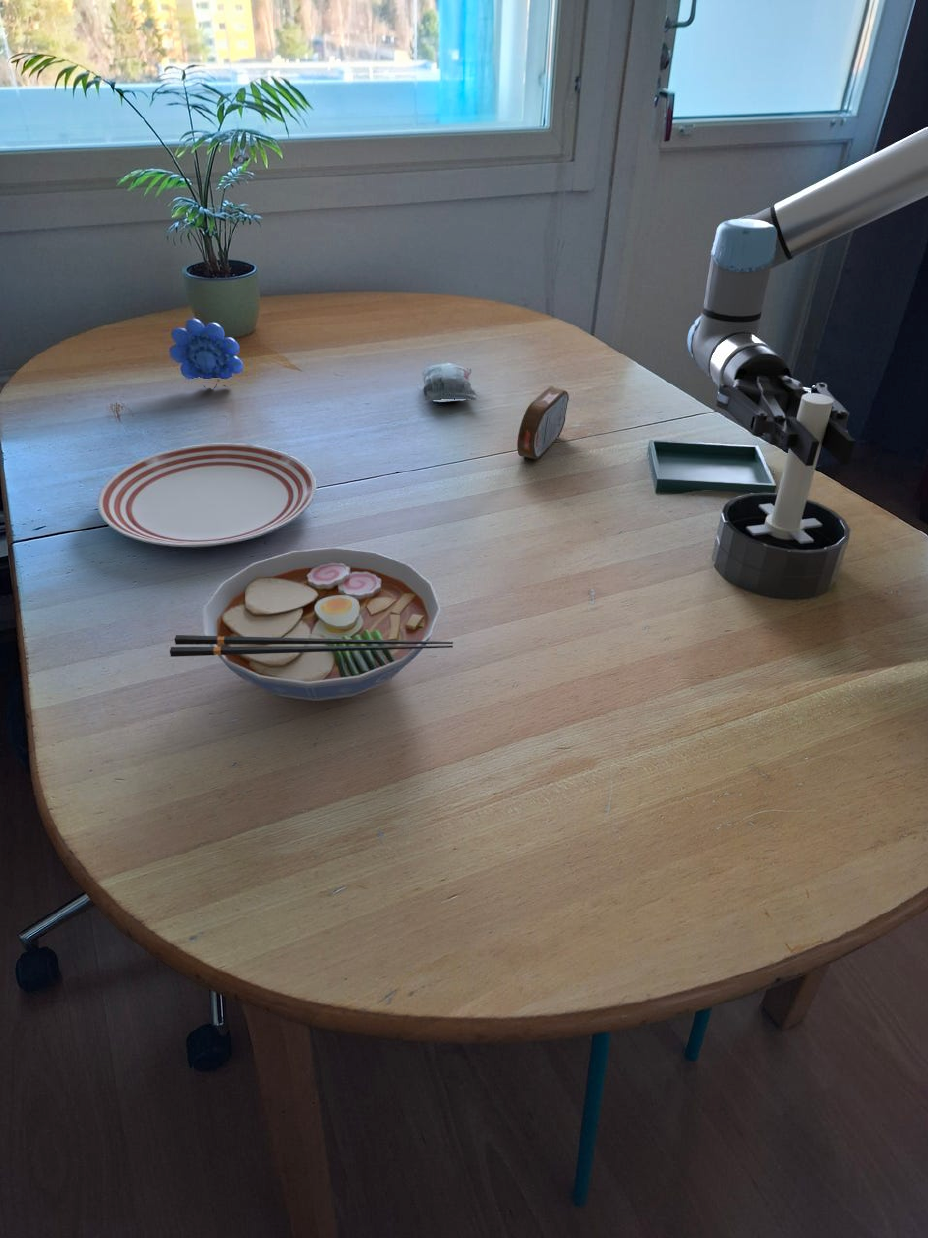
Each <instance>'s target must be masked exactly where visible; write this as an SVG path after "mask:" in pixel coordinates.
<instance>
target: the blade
mask: <svg viewBox="0 0 928 1238" xmlns="http://www.w3.org/2000/svg"><path fill="white" fill-rule="evenodd" d="M832 405H833V399H832V398H831V397H829V396H826V395H823V394H817V393H808V394H804V395H803V396H802V398H801V402H800V406H799V410H798V414H797V418H796V419H797V420H798V421H799V422H800V423H801V424H802V425H803V426H804V427H805V428H806V429H807V430H808V431H809V432H810V433H811V434H812V435H813V436H814V437H815V438H816V439H817V440H818V441H819V445H818V449H817V452H816V456H815V460H814V464H813V466H805V464H804V463H803V462H802V461H801V460H800V459H799V458H798V457H797V456H796V455H795V454H794V453H793V452H792V451H791V449H790V448H789V447H788V450H787V453H786V454H787V455H786V458H785V463H784V466H783V471H782V475H781V480H780V483H779V486H778V491H777V493H778V495H777V499H776V503H775V507H774V506H773V505H772V504H771V503H770V504H762V505H759V508H760V509H762V510H763V511H764V512H765V513H766V514H767V515H768V516H767V517H766V520H765V524H764V525H757V526H749V527H746V529H747V530H748V531H749V532H750V533H751V534H752V535H761V534H770V535H771V536H774V537H776V538H780V539H786V540H793V539H796V540H797V541H798V542H799V543H800V544H803V543H811V542H813V541H814V540H813V539H812V538H811V537H810V536H809V535H807V534H806V533H805V532H804V529H807V528H814V527H822V524H821V523H820V522H819V521H817V520H816V519H815V518H811V519H804V520H802V515H803V512H804V508H805V504H806V501H807V499H808V497H809V493H810V489H811V486H812V483H813V478H814V475H815V472H816V467H817V464H818V460H819V455H820V452H821V448H822V442H823V438H824V434H825V431H826V427H827V423H828V420H829V416H830V412H831V409H832Z"/></svg>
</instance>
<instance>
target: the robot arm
mask: <svg viewBox="0 0 928 1238" xmlns="http://www.w3.org/2000/svg"><path fill="white" fill-rule="evenodd" d="M927 196H928V126H927V127H924V128H923V129H921V130H918V131H917V132H914V133H913V134H911V135H909V136H907V137H905V138H903V139H901V140H899V141H897V142H895V143H893V144H891V145H889V146H887V147H885V148H883V149H880V150H879V151H877V152H876V153H873V154H871V155H870V156H868V157H865V158H864V159H861V160H859V161H858V162H856V163H854V164H851V165H849V166H848V167H845V168H844V169H842V170H840V171H838V172H835V173H834V174H831V175H830V176H827V177H826V178H824V179H822V180H819V181H818V182H816V183H813V184H812V185H810V186H808V187H806V188H804V189H802V190H800V191H798V192H797V193H794V194H793V195H791V196H788V197H787V198H785V199H783V200H781V201H779V202H776V203H775V204H774V205H772V206H769V207H767V208H765V209H762V210H761V211H759V212H757V213H755V214H749V215H744V216H741V217H739V218H732V219H729V220H725V221H722V222H721V223H720V224H719V225H718V227H717V228H716V232H715V236H714V242H713V244H712V247H711V249H710V250H711V251H710V255H711V256H710V263H709V270H708V275H707V282H706V288H705V296H704V303H703V305H702V310H701V315H700V316H699V317H697V318H696V319H695V321H694V322H693V323H692V325H691V326H690V329H689V331H688V334H687V343H686V344H687V349H688V352H689V354H690V355H691V357H692V359H693V360H694V361H693V362H695V365H696V366H697V367H698V368H699V369H700V370H702V371H703V372H704V373H705V374H706V375H707V376H708V377H709V378H710V379H711V380H712V382H713V383H715V385H716V386H717V387H718V391H717V396H716V401H715V406H716V407H717V408H719V409H721V410H724V411H726V412H727V413H728V414H729V415H730V416H731V417H732V418H733V419H735V420H736V421H737V422H738V423H739V424H740V425H741V426H742V427H743V428H744V429H745V430H747V432H748V433H750V434H751V435H752V436H754V437H756V438H758V437H759V438H760V437H763V436H764V434H768V436H769V438H768V441H767V443H768V445H771V446H779V445H780V444H781V445H782V446H784V447H786V448H788V449H789V448H790V449H791V451H792V452H793V453H794V454H795V455H796V456H797V457H798V458H799V459H800V460H801V461H802V462H803V463H804V464H805V466H813V464H814V460H815V456H816V452H817V449H818V445H819V441H818V440H817V439H816V438H815V437H814V436H813V435H812V434H811V433H810V432H809V431H808V430H807V429H806V428H805V427H804V426H803V425H802V424H801V423H800V422H799V421H798V420H797V419H796V418H797V414H798V410H799V406H800V402H801V398H802V396H803V395H804V394H808V393H817V394H823V395H826V396H829V397H831V398H832V399H833V405H832V409H831V412H830V416H829V420H828V423H827V427H826V431H825V434H824V438H823V442H822V445H821V447H823V448H824V450H826V451H827V452H828V453H829V454H830V455H831V456H832V457H833V458H834V459H835V460H836V461H837V462H838V464H840V465H842V466H849V465H850V462H851V459H852V456H853V452H854V448H855V445H856V439H854V437H853V436H851V435H850V434H849V431H848V430H847V429H846V427H847V424H848V423H847V422H848V419H849V417H850V412H849V411H848V409H846V408H845V406H843V405H842V404H841V403H840V402H839V401H838V400H837V398H835V396H834V395H832V393H831V392H830V391H829V390H828V384H827V383H825V382H818V383H816V385H812V386H811V387H804V383H802V382H801V381H800V380H797V379H794V378H793V376H792V373H791V370H790V367H789V365H788V363H787V362H786V361H785V359H783V358H782V357H781V356H780V355H779V354H778V353H777V352H775V350H773V348H771V346H769V345H768V344H767V343H766V342H764V341H763V340H762V339H761V338H759V337H758V336H757V335H758V330H759V327H760V321H761V318H762V312H763V311H762V310H763V306H764V301H765V297H766V293H767V289H768V284H769V281H770V274H771V270H772V269H774V268H777V267H779V266H780V265H782V264H784V263H786V262H789V261H791V260H793V259H794V258H797V257H798V256H801V255H803V254H805V253H807V252H809V251H811V250H813V249H816V248H818V247H821V246H822V245H824V244H826V243H829V242H830V241H833V240H835V239H838V238H839V237H842V236H844V235H846V234H848V233H850V232H852V231H854V230H857V229H858V228H861V227H863V226H865V225H868V224H869V223H871V222H873V221H874V222H875V221H876V220H878V219H880V218H882V217H884V216H887V215H889V214H891V213H893V212H895V211H898V210H899V209H902V208H904V207H906V206H908V205H910V204H912V203H914V202H917V201H919V200H921V199H923V198H925V197H927ZM786 418H787V419H786Z"/></svg>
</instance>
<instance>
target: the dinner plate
mask: <svg viewBox="0 0 928 1238" xmlns="http://www.w3.org/2000/svg"><path fill="white" fill-rule="evenodd" d="M316 480H317V479H316V477H315V474H314V473H313V472H312V470H311V468H309V466H308V465H307V464H305V463H304V462H303V461H301V460H300V459H298V458H296V457H295V456H292V455H290V454H289V453H286V452H284V451H280V450H278V449H274V448H270V447H267V446H261V445H255V444H249V443H239V442H237V443H236V442H216V443H204V444H203V443H202V444H195V445H188V446H182V447H177V448H173V449H168V450H165V451H161V452H158V453H155V454H151V455H149V456H145V457H144V458H142V459H139V460H137V461H135V462H133V463H131V464H129V465H127V466H125V467H123V468H122V469H121V470H119V471H117V472H116V473H115V474H114V475H113V476H111V477H110V478H109V479H108V480H107V482H106V483H105V484H104V485H103V486H102V487H101V489H100V492H99V494H98V496H97V509H98V512H99V514H100V516H101V518H102V519H103V521H104V522H105V523H106V524H107V526H109V527H110V528H111V529H113V530H114V531H116V532H117V533H119V534H121V535H123V536H125V537H127V538H130V539H133V540H136V541H140V542H143V543H147V544H153V545H158V546H163V547H164V546H165V547H173V548H175V547H178V548H200V547H213V546H215V547H216V546H221V545H230V544H235V543H239V542H245V541H247V540H252V539H256V538H258V537H261V536H264V535H267V534H270V533H272V532H275V531H277V530H280V529H281V528H283V527H285V526H287V525H289V524H290V523H292V522H293V521H295V520H296V519H297V518H299V517H300V516H301V515H302V514H304V513H305V511H307V509H308V508H309V507H310V506H311V504H312V503H313V501H314V499H315V497H316V494H317V487H318V486H317V481H316Z"/></svg>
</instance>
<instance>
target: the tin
mask: <svg viewBox="0 0 928 1238" xmlns="http://www.w3.org/2000/svg"><path fill="white" fill-rule="evenodd" d="M569 400H570V396H569V392H568V391H567V390H565V389H562V388H559V387H555V386H553V385H549V386H548V387H547V388H546V389H545V390H543V391H542V392H541V393H540V394H539V395H538V396H537V397H535V399H533V400H532V401H531V402H530V403H529V405H528V407H527V408H526V409H525V412H524V414H523V417H522V419H521V423H520V426H519V429H518V435H517V442H516V443H517V446H516V447H517V454H518V455H519V457H524V458H527V459H531V460H538V459H540V458H541V457H542V456H543V455H544V454H545V453H546V452H547V451H548V450H549V449H550V447H551V446H552V445H553V444H554V443H555V442H556V441H557V440H558V439H557V437H558V438H559V437H560V436H561V433H562V431H563V428H564V426H565V423H566V414H567V410H568V404H569ZM556 439H557V440H556ZM555 440H556V441H555ZM554 441H555V442H554ZM553 442H554V443H553ZM552 443H553V444H552ZM551 444H552V445H551ZM550 445H551V446H550ZM549 446H550V447H549ZM544 452H545V453H544ZM543 453H544V454H543ZM542 454H543V455H542ZM541 455H542V456H541ZM540 456H541V457H540ZM539 457H540V458H539Z"/></svg>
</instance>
